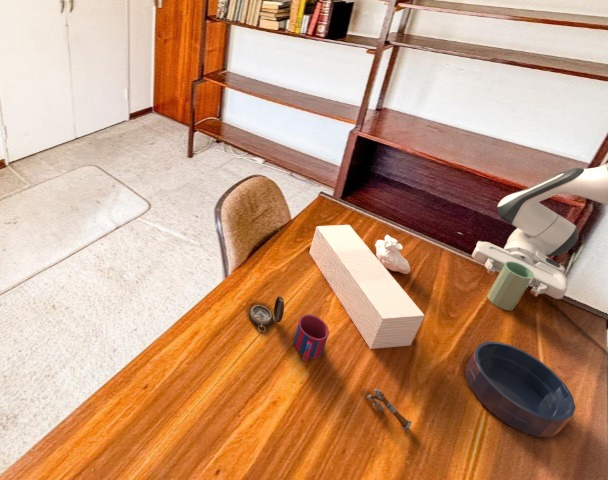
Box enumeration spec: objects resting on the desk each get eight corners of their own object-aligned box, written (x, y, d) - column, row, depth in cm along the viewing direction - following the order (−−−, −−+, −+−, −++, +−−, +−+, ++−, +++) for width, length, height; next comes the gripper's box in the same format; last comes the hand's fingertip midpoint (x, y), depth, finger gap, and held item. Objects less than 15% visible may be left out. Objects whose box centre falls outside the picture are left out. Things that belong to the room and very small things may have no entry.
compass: (248, 305, 106) (251, 285, 103) (278, 311, 105) (283, 291, 102) (248, 331, 99) (252, 311, 96) (280, 338, 98) (286, 318, 94)
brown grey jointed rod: (364, 390, 86) (378, 384, 83) (396, 425, 83) (412, 421, 80) (361, 396, 85) (376, 391, 82) (394, 432, 82) (410, 428, 79)
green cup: (502, 292, 113) (520, 261, 108) (520, 310, 108) (540, 278, 103) (481, 292, 113) (499, 261, 108) (498, 310, 107) (517, 278, 102)
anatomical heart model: (370, 256, 127) (360, 238, 122) (389, 241, 127) (380, 223, 121) (400, 285, 117) (391, 267, 111) (421, 269, 117) (413, 251, 111)
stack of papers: (410, 345, 97) (425, 315, 92) (370, 349, 96) (383, 318, 91) (340, 251, 126) (349, 224, 121) (309, 252, 125) (316, 226, 120)
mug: (325, 343, 97) (332, 324, 94) (313, 376, 89) (320, 356, 86) (298, 328, 100) (304, 309, 97) (284, 358, 93) (290, 339, 90)
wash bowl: (513, 359, 95) (525, 341, 92) (582, 438, 80) (599, 420, 77) (447, 359, 94) (457, 341, 91) (504, 438, 79) (518, 420, 77)
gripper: (482, 231, 122) (470, 251, 114) (573, 271, 108) (567, 297, 100) (474, 247, 125) (462, 268, 117) (562, 287, 111) (555, 314, 103)
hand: (511, 282), depth 108 cm, fingers open, 8 cm apart
